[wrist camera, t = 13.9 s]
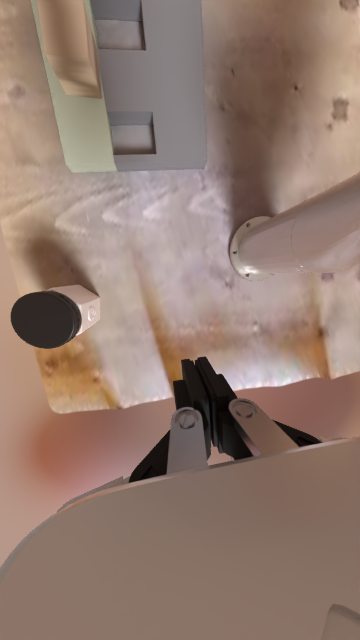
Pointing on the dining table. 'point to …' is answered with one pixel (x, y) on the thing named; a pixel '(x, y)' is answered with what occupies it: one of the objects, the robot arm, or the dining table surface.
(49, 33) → the birch block
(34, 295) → the jar
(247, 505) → the robot arm
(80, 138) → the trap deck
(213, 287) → the dining table surface
